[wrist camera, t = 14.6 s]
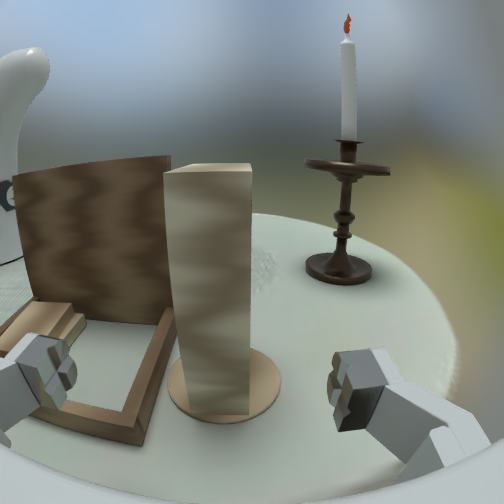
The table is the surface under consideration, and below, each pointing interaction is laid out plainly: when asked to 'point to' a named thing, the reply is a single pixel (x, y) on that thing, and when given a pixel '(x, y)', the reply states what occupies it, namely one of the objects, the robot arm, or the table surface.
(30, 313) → the offcuts
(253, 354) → the coaster
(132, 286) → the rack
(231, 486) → the table surface
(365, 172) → the candlestick
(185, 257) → the tall tan column
